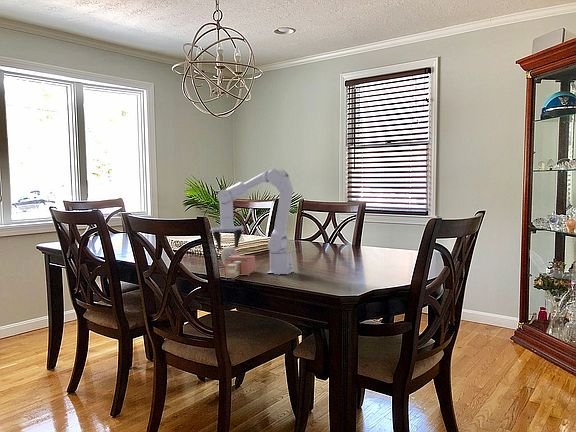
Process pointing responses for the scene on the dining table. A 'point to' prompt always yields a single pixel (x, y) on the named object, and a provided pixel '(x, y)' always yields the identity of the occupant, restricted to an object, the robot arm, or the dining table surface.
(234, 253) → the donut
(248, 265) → the dispenser
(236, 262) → the cream block
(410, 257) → the dining table surface
